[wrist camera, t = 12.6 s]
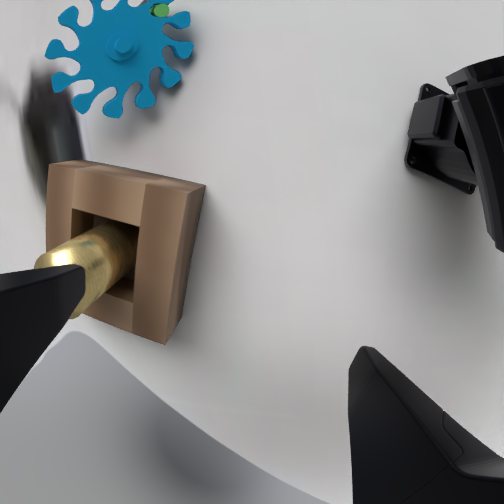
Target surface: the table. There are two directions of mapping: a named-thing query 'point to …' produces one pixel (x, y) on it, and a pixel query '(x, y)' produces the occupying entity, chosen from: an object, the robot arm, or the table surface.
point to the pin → (97, 257)
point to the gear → (120, 51)
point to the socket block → (149, 241)
